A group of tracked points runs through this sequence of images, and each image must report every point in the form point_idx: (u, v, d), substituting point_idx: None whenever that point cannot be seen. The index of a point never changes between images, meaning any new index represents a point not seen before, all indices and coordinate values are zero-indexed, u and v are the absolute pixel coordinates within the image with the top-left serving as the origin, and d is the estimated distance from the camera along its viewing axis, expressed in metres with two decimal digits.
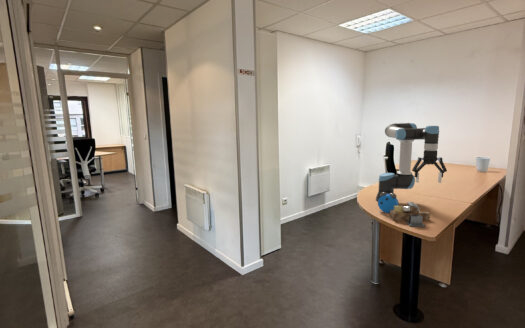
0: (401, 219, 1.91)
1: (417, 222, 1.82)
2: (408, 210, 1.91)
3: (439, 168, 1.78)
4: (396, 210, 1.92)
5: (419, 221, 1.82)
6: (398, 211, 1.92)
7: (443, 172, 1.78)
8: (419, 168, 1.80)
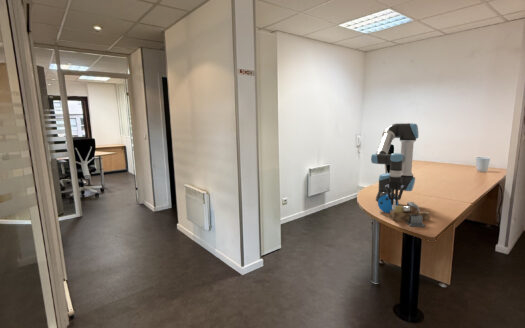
0: (401, 219, 1.91)
1: (417, 222, 1.82)
2: (408, 210, 1.91)
3: (396, 195, 1.91)
4: (397, 210, 1.92)
5: (419, 221, 1.82)
6: (398, 211, 1.92)
7: (396, 200, 1.91)
8: (392, 196, 1.92)
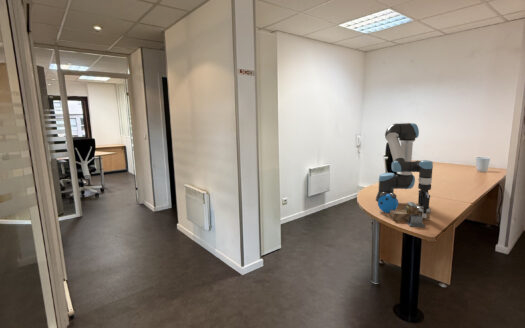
0: (401, 219, 1.91)
1: (417, 222, 1.82)
2: (419, 210, 1.90)
3: (423, 203, 1.88)
4: (408, 210, 1.91)
5: (419, 221, 1.82)
6: None
7: (422, 208, 1.88)
8: (419, 201, 1.94)
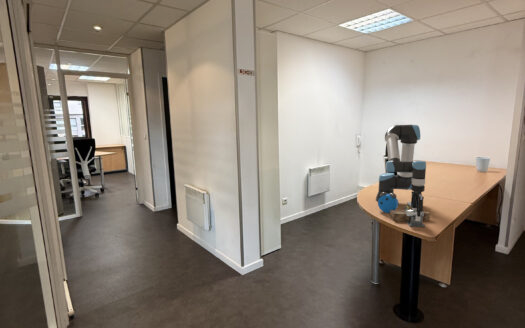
0: (401, 219, 1.91)
1: (417, 222, 1.82)
2: (412, 214, 1.81)
3: (416, 205, 1.79)
4: None
5: (419, 221, 1.82)
6: None
7: None
8: (412, 203, 1.85)
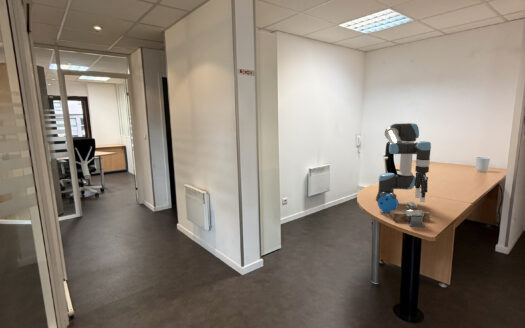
0: (401, 219, 1.91)
1: (417, 222, 1.82)
2: (412, 214, 1.81)
3: (421, 186, 1.77)
4: None
5: (419, 221, 1.82)
6: None
7: None
8: (416, 183, 1.86)
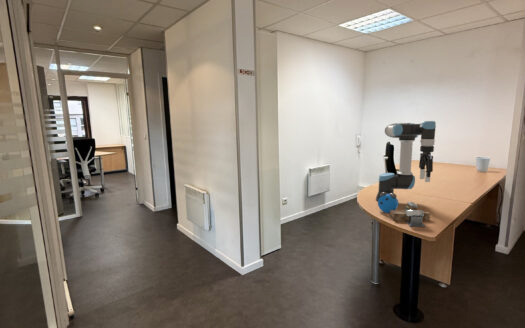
0: (401, 219, 1.91)
1: (417, 222, 1.82)
2: (412, 214, 1.81)
3: (426, 166, 1.76)
4: None
5: (419, 221, 1.82)
6: None
7: (425, 171, 1.75)
8: (421, 164, 1.84)
